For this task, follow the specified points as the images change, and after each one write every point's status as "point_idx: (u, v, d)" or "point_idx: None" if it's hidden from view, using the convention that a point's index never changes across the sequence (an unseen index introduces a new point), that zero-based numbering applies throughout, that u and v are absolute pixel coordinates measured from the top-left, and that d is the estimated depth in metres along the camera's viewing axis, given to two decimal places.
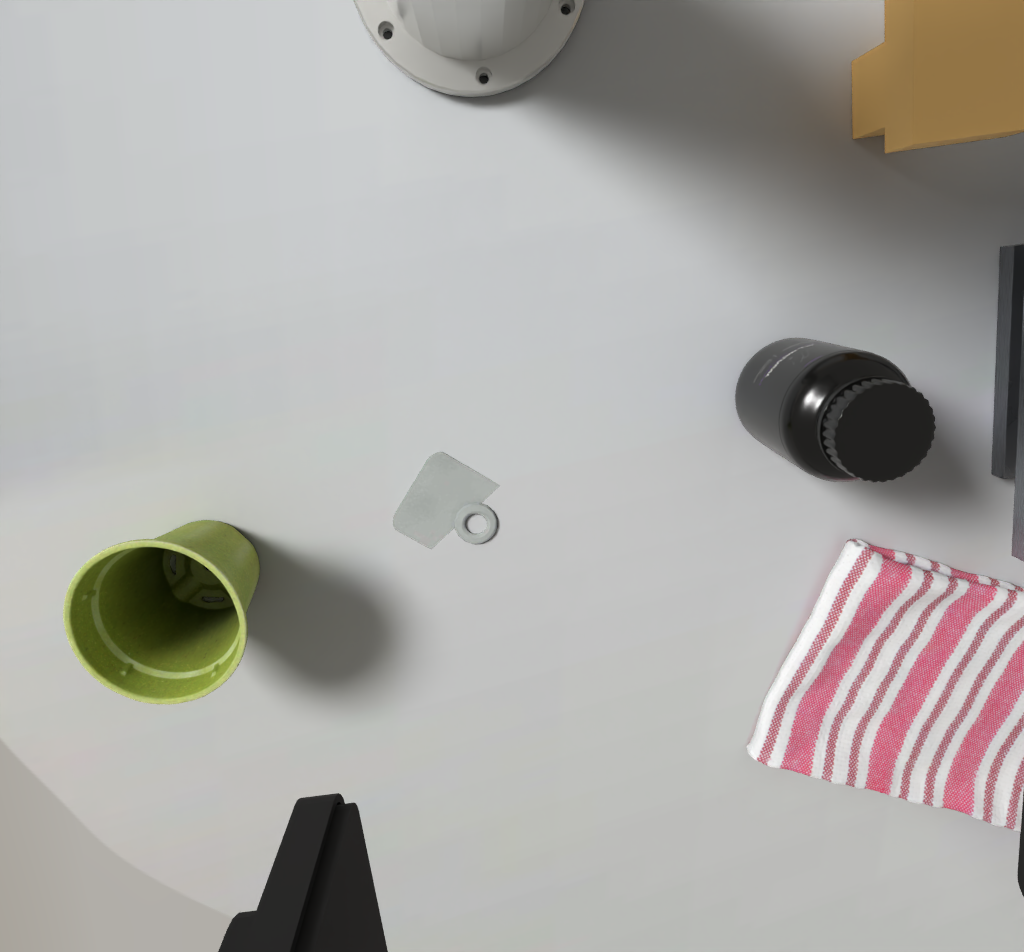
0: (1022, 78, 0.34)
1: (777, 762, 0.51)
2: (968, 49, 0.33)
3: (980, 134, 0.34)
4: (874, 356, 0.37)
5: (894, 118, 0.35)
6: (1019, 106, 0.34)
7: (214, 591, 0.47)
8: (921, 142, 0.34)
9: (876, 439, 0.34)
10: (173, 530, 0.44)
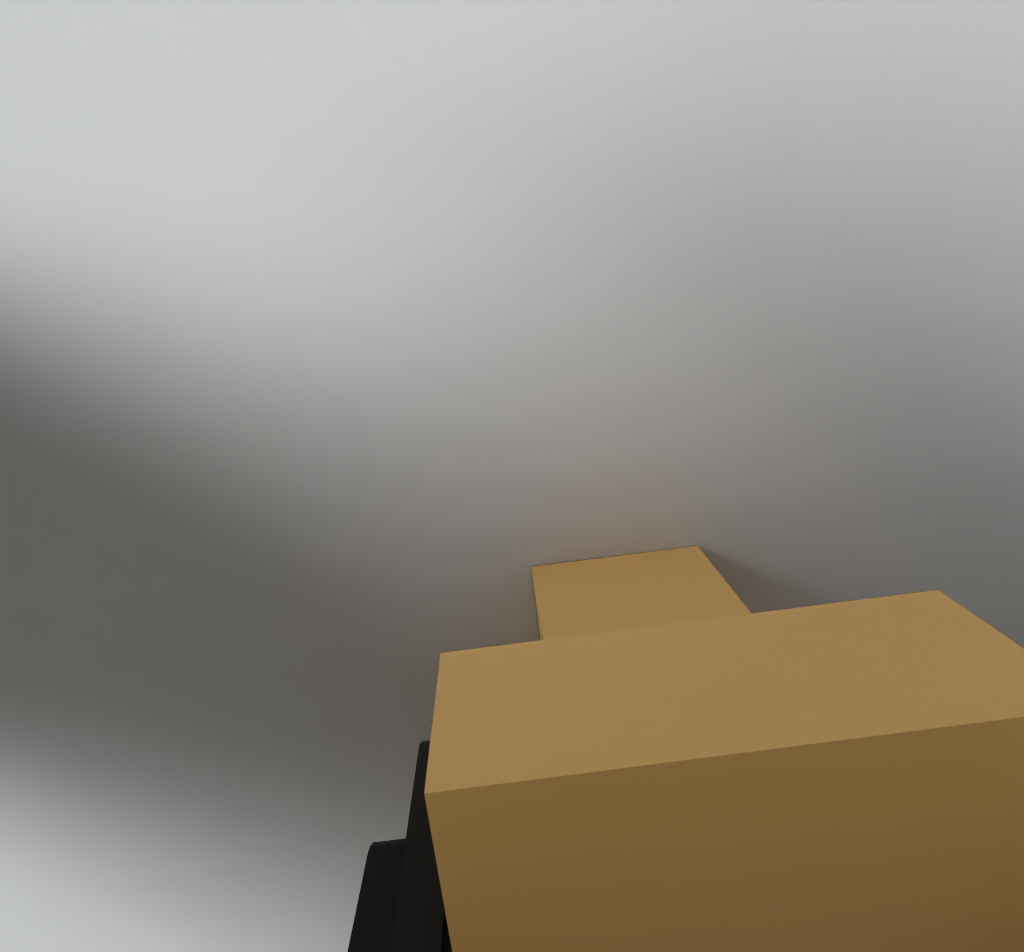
0: None
1: None
2: None
3: None
4: None
5: None
6: None
7: None
8: None
9: None
10: None
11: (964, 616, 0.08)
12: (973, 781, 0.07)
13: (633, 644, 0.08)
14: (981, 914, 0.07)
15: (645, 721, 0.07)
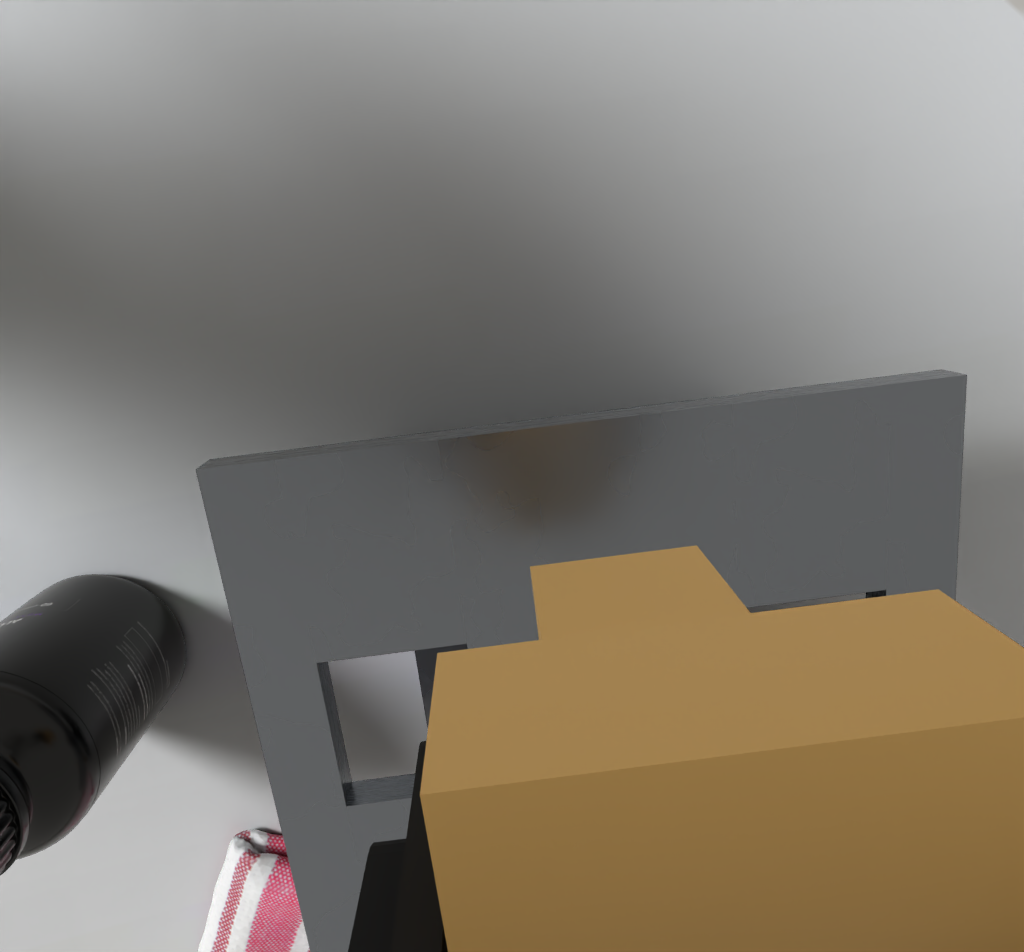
0: None
1: None
2: None
3: None
4: None
5: None
6: None
7: None
8: None
9: None
10: None
11: (965, 616, 0.08)
12: (972, 782, 0.07)
13: (632, 644, 0.08)
14: (980, 917, 0.07)
15: (644, 722, 0.07)
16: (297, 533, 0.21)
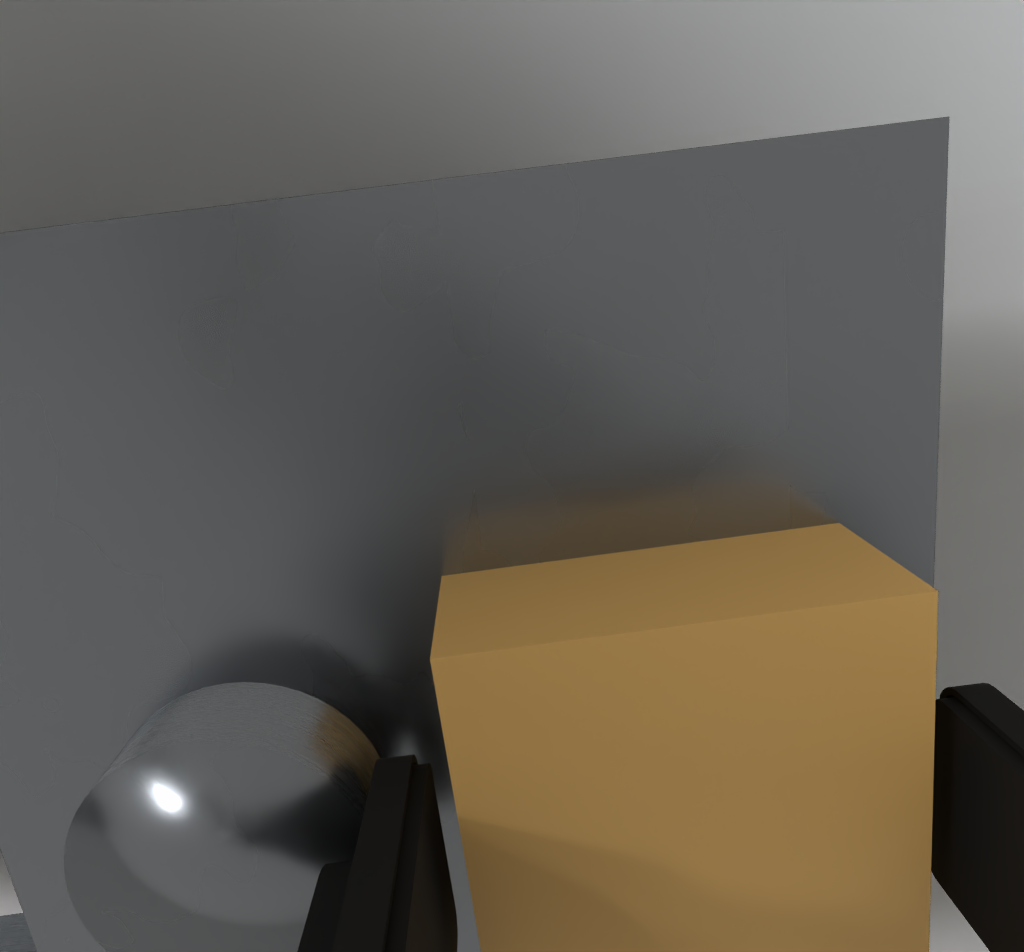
0: (854, 934, 0.10)
1: None
2: (660, 867, 0.10)
3: None
4: None
5: None
6: None
7: None
8: None
9: None
10: None
11: (853, 539, 0.10)
12: (840, 649, 0.09)
13: (594, 565, 0.11)
14: (852, 757, 0.09)
15: (598, 612, 0.09)
16: None
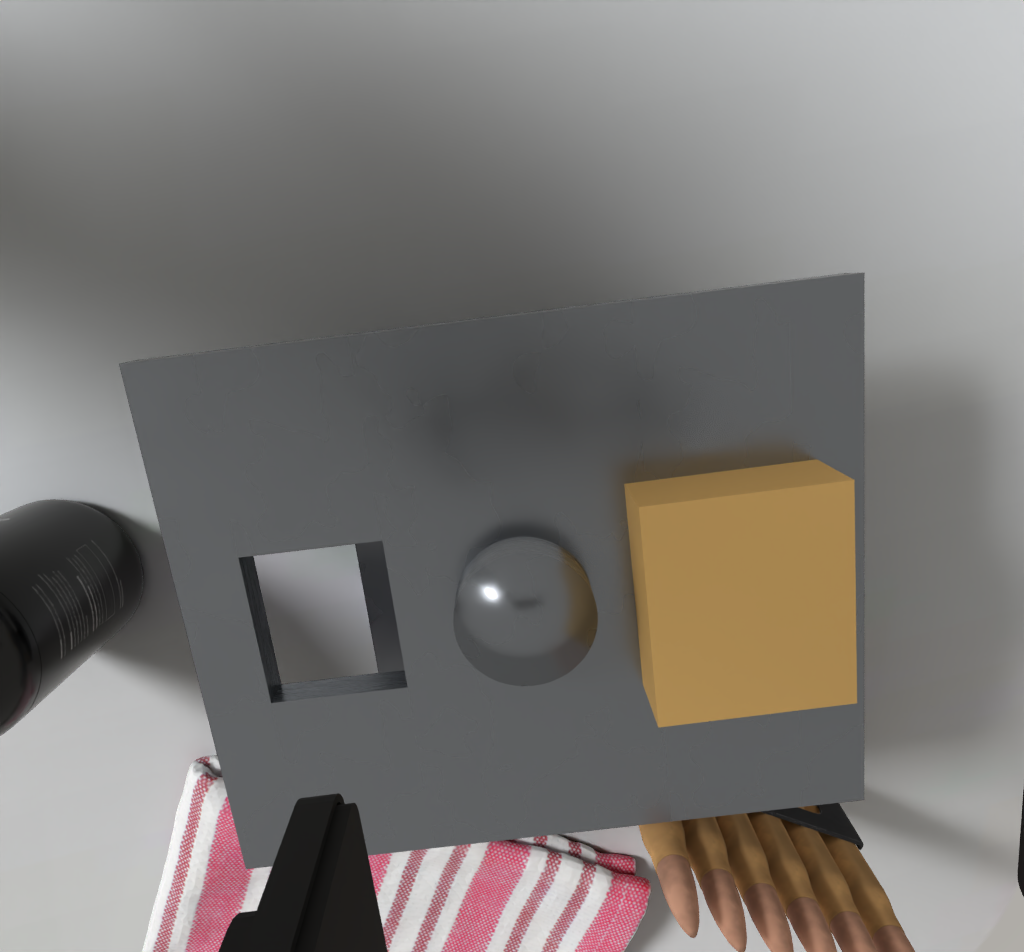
0: (821, 643, 0.22)
1: None
2: (733, 606, 0.21)
3: (762, 712, 0.22)
4: None
5: (644, 659, 0.24)
6: (819, 678, 0.22)
7: None
8: (672, 723, 0.22)
9: None
10: None
11: (822, 465, 0.22)
12: (812, 505, 0.21)
13: (700, 477, 0.23)
14: (819, 555, 0.21)
15: (707, 491, 0.21)
16: (216, 427, 0.22)
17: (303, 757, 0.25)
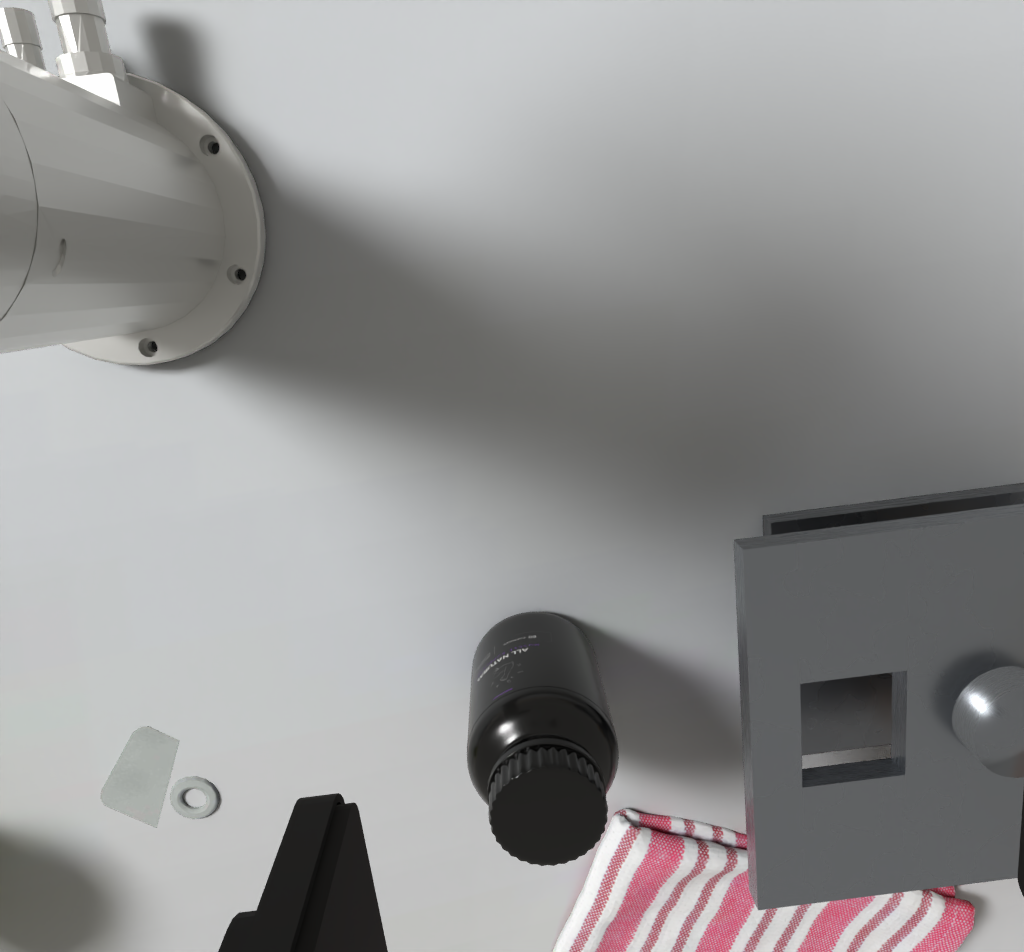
0: None
1: None
2: None
3: None
4: (562, 700, 0.32)
5: None
6: None
7: None
8: None
9: (538, 823, 0.29)
10: None
11: None
12: None
13: None
14: None
15: None
16: (803, 593, 0.30)
17: (818, 827, 0.33)
